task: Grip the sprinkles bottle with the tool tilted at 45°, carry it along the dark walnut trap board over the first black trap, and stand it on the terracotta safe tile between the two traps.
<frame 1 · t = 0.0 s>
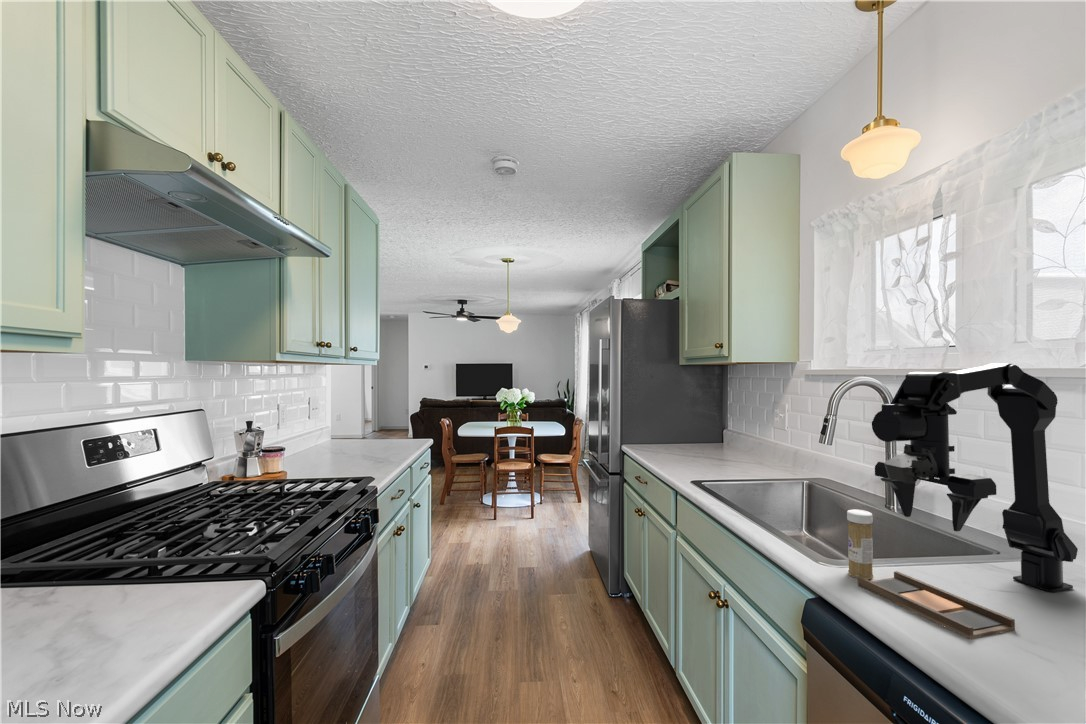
hand: (931, 523, 94), 15 cm above the counter, tool pointing down, fingers open, 9 cm apart
sprinkles bottle: (860, 577, 106), on the counter
trap board: (928, 605, 93), on the counter
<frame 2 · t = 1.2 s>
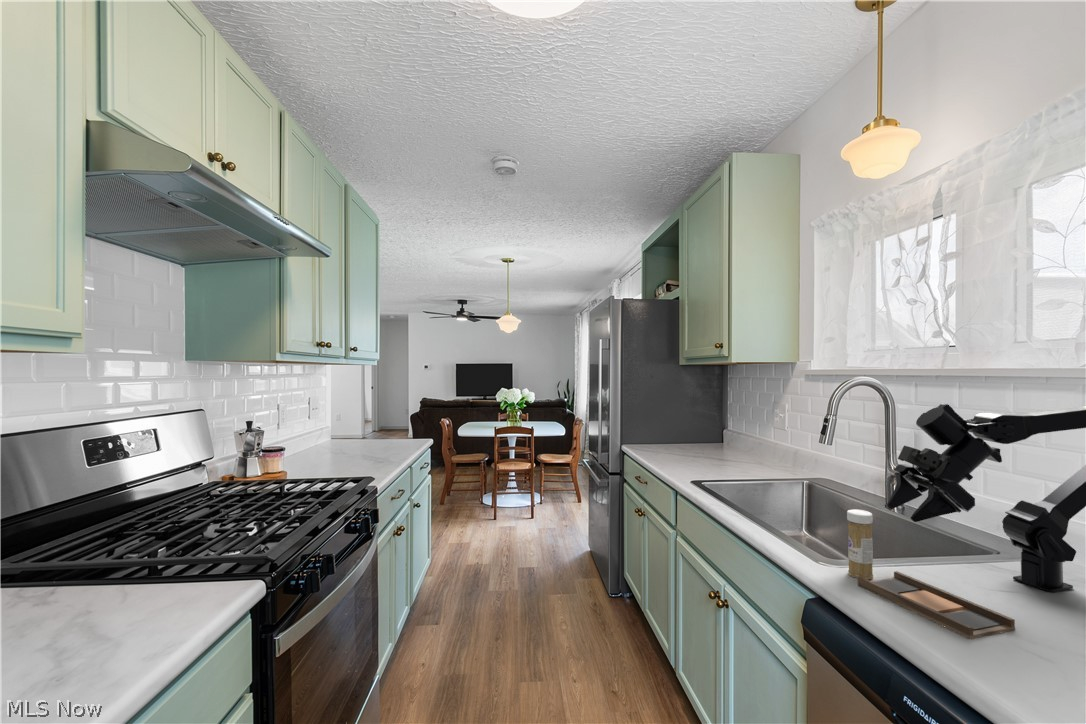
hand: (900, 513, 105), 13 cm above the counter, tool tilted 45°, fingers open, 9 cm apart
nothing on the counter moved.
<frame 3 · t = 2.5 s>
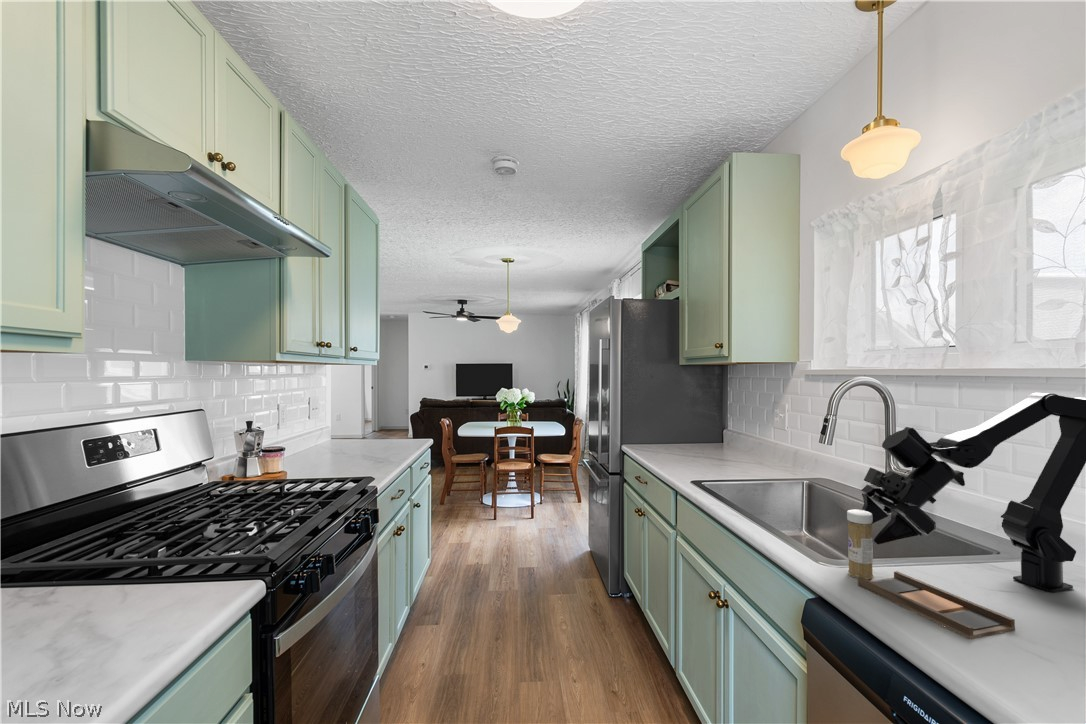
hand: (864, 535, 106), 9 cm above the counter, tool tilted 45°, fingers open, 9 cm apart
nothing on the counter moved.
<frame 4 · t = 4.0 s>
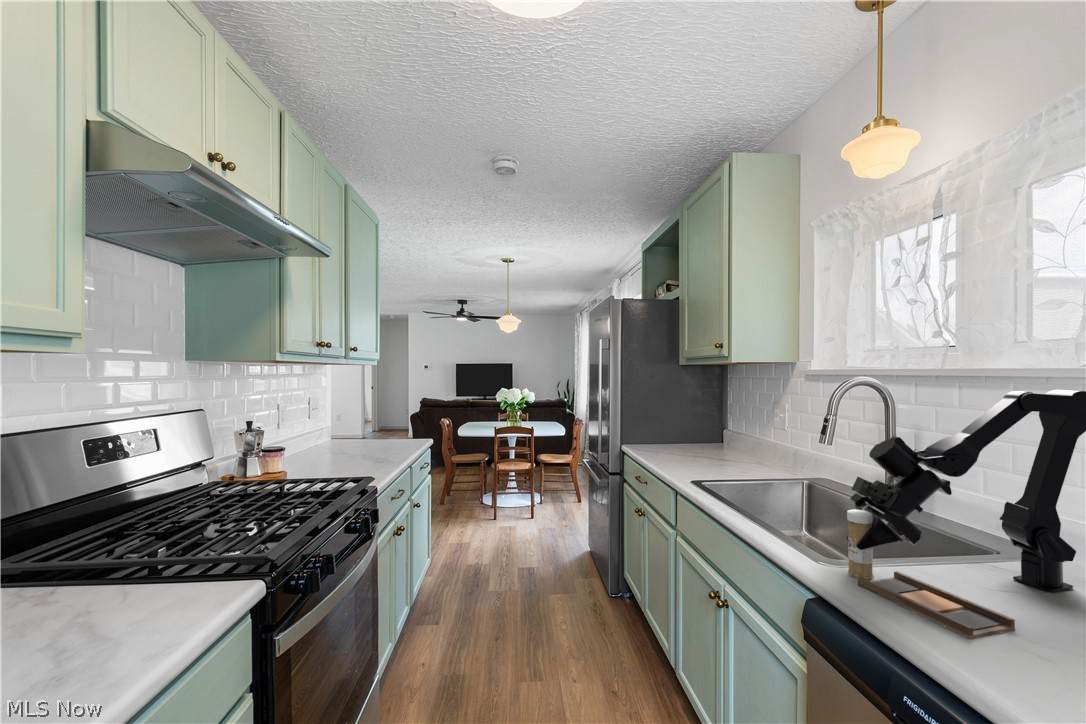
hand: (852, 544, 107), 7 cm above the counter, tool tilted 45°, fingers closed on sprinkles bottle, 4 cm apart
sprinkles bottle: (860, 576, 106), on the counter, touching gripper
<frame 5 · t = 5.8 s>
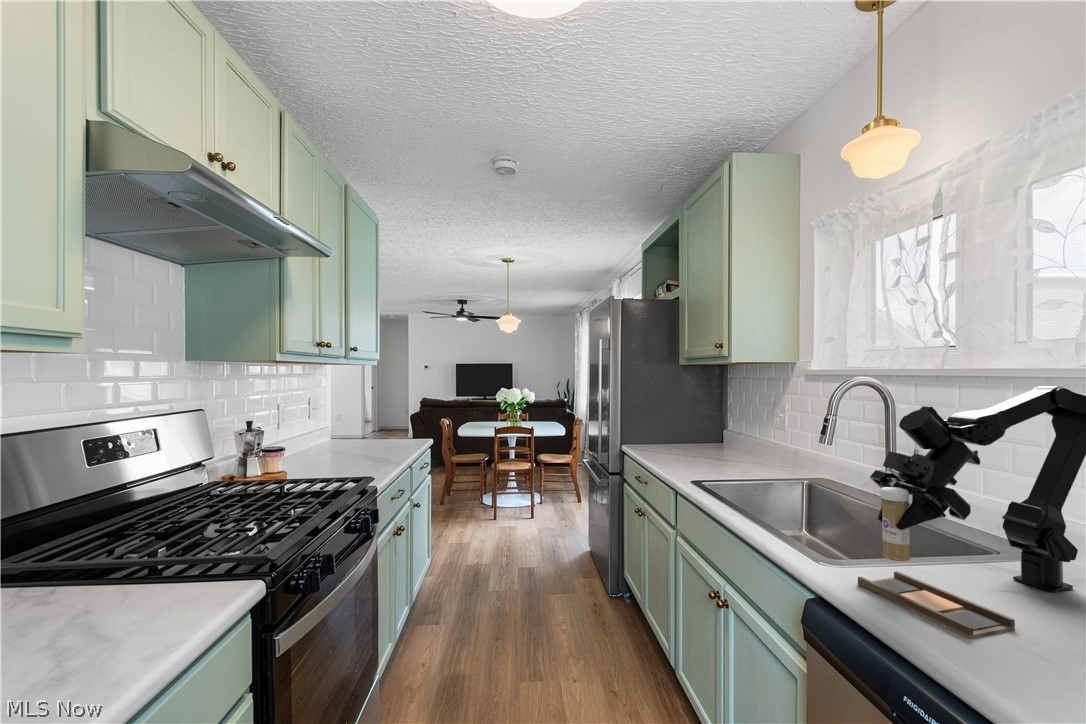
hand: (888, 524, 99), 13 cm above the counter, tool tilted 45°, fingers closed on sprinkles bottle, 4 cm apart
sprinkles bottle: (896, 559, 99), point 6 cm above the counter, touching gripper
when the fingers open (9 cm above the counter, at t = 7.7 s): sprinkles bottle drops 1 cm, resting on trap board.
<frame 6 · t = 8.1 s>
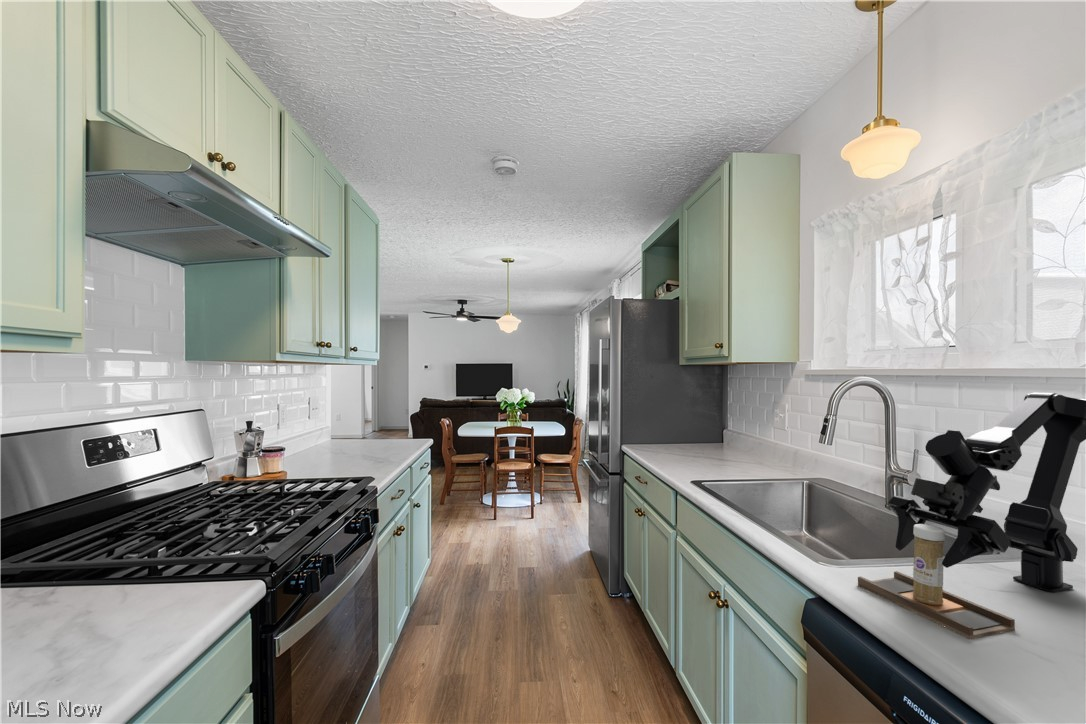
hand: (919, 557, 93), 9 cm above the counter, tool tilted 45°, fingers open, 8 cm apart
sprinkles bottle: (928, 601, 93), point 1 cm above the counter, touching trap board
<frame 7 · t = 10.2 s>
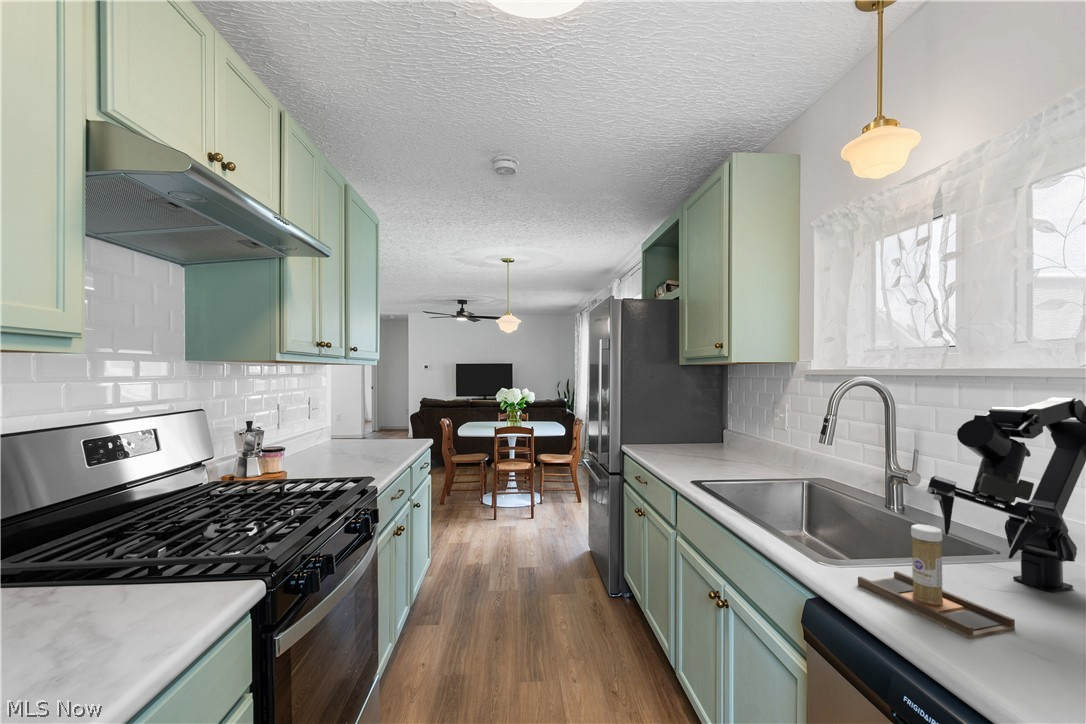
hand: (976, 546, 94), 10 cm above the counter, tool tilted 30°, fingers open, 9 cm apart
nothing on the counter moved.
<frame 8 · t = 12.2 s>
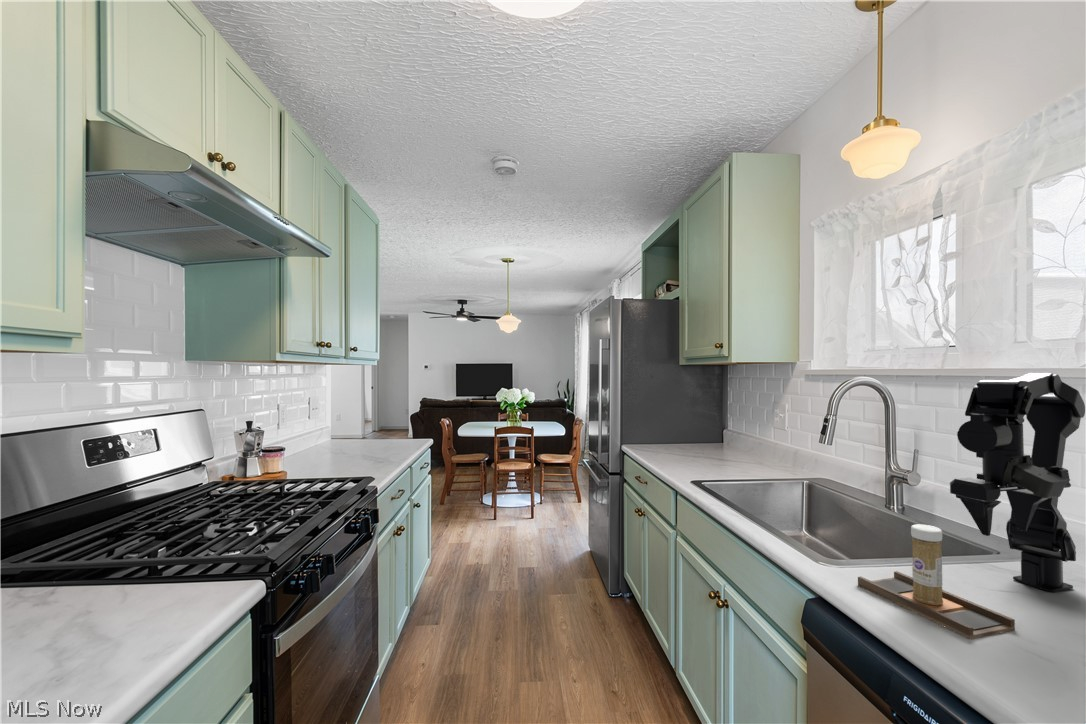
hand: (1004, 532, 93), 13 cm above the counter, tool pointing down, fingers open, 9 cm apart
nothing on the counter moved.
at the end: sprinkles bottle inside the target area (0.3 cm from its centre), point 0.7 cm above the counter; sprinkles bottle tilted 0°; the gripper is holding nothing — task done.
